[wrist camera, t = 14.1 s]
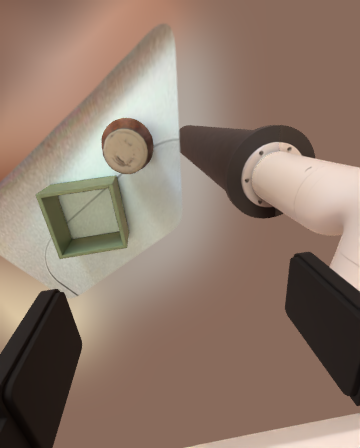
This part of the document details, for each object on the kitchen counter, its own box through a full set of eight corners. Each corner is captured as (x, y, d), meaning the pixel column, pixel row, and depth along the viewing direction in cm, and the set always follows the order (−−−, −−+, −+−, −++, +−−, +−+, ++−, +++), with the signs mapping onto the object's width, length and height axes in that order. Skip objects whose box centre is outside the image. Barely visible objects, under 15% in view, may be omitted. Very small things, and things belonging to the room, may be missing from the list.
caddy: (116, 175, 41) (112, 183, 36) (129, 232, 46) (127, 247, 40) (49, 184, 40) (35, 194, 35) (69, 242, 45) (59, 259, 40)
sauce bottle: (120, 164, 41) (103, 199, 23) (104, 127, 38) (68, 133, 20) (156, 151, 41) (167, 174, 23) (142, 112, 38) (140, 105, 20)
